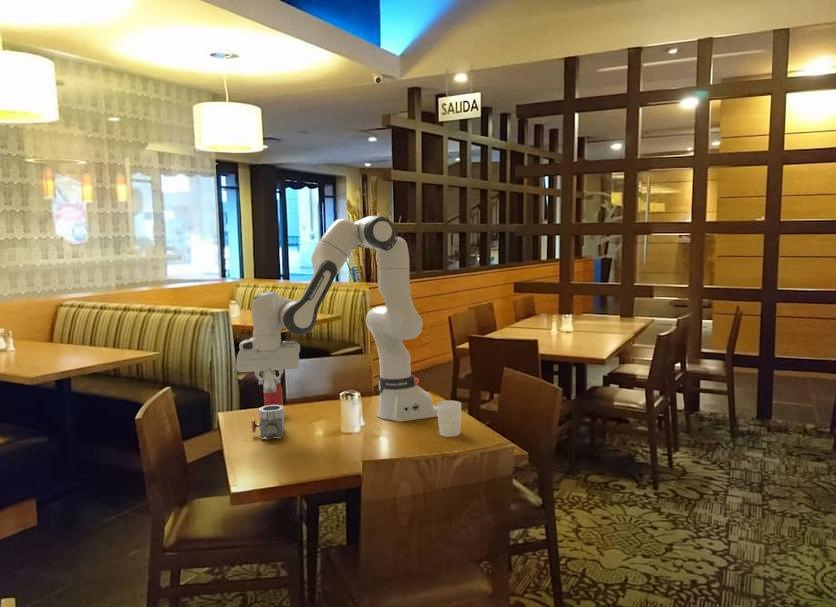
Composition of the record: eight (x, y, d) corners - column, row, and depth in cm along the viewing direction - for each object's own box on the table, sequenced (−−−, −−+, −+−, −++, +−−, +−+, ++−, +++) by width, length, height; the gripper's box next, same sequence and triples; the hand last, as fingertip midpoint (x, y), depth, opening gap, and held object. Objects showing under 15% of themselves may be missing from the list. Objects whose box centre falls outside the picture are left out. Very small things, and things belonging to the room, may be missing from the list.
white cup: (460, 438, 201) (459, 407, 200) (435, 437, 203) (434, 406, 202) (463, 430, 209) (462, 400, 208) (439, 429, 210) (439, 400, 209)
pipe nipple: (276, 389, 211) (275, 365, 210) (275, 392, 207) (274, 368, 206) (264, 390, 211) (262, 366, 210) (263, 393, 207) (261, 369, 206)
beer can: (281, 416, 231) (279, 384, 229) (263, 417, 231) (261, 385, 229) (285, 411, 237) (283, 380, 236) (267, 412, 237) (265, 380, 236)
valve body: (285, 427, 218) (284, 401, 217) (283, 440, 204) (282, 413, 203) (255, 429, 217) (253, 404, 216) (251, 443, 203) (249, 415, 202)
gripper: (299, 338, 212) (301, 379, 213) (236, 342, 209) (239, 383, 210) (299, 341, 206) (301, 383, 207) (234, 345, 202) (236, 387, 204)
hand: (269, 383), depth 209 cm, fingers closed on pipe nipple, 4 cm apart
